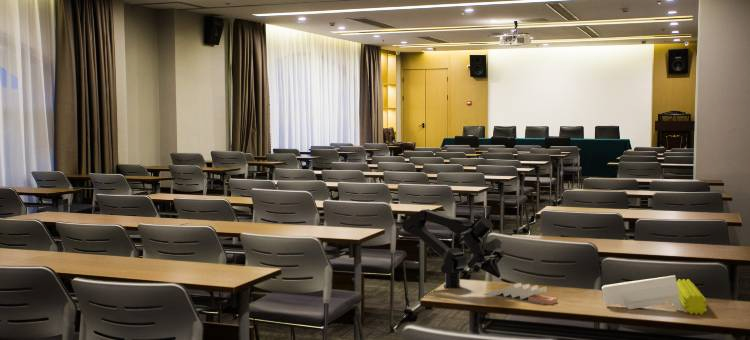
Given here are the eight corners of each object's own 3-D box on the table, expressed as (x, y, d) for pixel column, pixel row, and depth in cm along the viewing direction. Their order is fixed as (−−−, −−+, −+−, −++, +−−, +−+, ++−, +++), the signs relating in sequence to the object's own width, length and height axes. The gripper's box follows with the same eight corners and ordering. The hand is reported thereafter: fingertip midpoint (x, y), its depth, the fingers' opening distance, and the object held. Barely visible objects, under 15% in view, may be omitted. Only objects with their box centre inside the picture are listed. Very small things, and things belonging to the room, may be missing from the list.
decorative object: (693, 296, 290) (693, 278, 290) (708, 317, 258) (708, 296, 258) (672, 295, 292) (673, 277, 292) (685, 315, 260) (685, 295, 260)
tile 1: (494, 291, 288) (513, 284, 282) (502, 289, 291) (520, 282, 286) (496, 295, 287) (515, 288, 282) (503, 293, 291) (522, 286, 285)
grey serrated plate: (482, 295, 289) (482, 294, 289) (495, 292, 296) (495, 290, 296) (538, 305, 273) (538, 303, 273) (551, 301, 279) (551, 300, 279)
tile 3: (510, 294, 283) (530, 287, 277) (518, 292, 287) (537, 285, 281) (512, 298, 282) (531, 290, 277) (519, 296, 286) (538, 289, 280)
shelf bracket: (683, 312, 263) (676, 277, 263) (609, 323, 269) (602, 288, 269) (680, 309, 269) (673, 274, 269) (607, 319, 274) (601, 285, 274)
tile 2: (502, 292, 285) (521, 285, 280) (510, 290, 289) (529, 283, 283) (504, 296, 285) (523, 289, 279) (511, 294, 288) (530, 287, 283)
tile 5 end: (528, 296, 278) (550, 300, 272) (535, 294, 282) (557, 298, 275) (528, 300, 278) (550, 304, 272) (535, 298, 282) (557, 302, 276)
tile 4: (519, 295, 280) (539, 288, 275) (526, 293, 284) (546, 286, 278) (520, 299, 280) (540, 292, 274) (527, 297, 284) (547, 290, 278)
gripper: (474, 234, 285) (498, 266, 278) (501, 229, 299) (525, 261, 292) (456, 252, 291) (480, 285, 284) (484, 247, 304) (507, 278, 297)
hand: (499, 277), depth 289 cm, fingers closed
